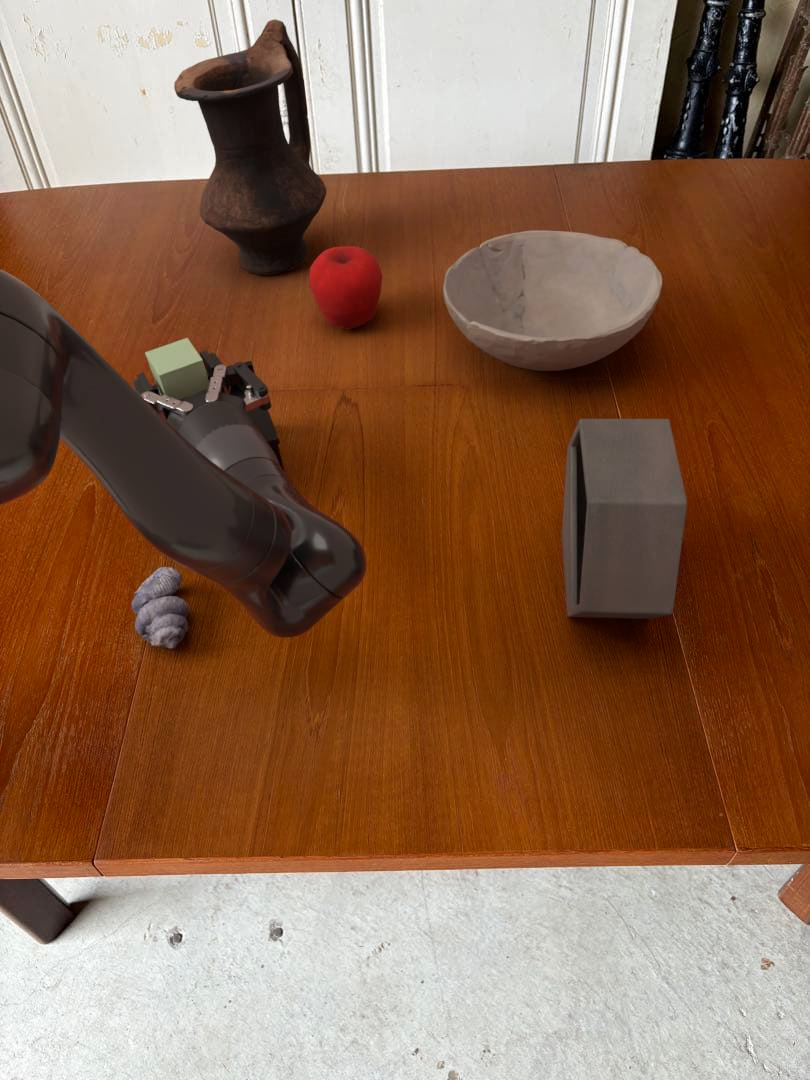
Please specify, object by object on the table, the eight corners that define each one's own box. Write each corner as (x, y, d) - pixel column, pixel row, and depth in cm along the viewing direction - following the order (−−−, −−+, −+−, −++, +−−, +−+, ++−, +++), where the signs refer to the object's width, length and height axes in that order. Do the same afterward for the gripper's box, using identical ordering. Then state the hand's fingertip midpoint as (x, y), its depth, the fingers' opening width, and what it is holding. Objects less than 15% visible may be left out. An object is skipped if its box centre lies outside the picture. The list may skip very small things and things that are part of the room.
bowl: (410, 327, 112) (405, 261, 104) (570, 271, 119) (577, 205, 111) (513, 437, 96) (516, 367, 88) (691, 364, 103) (708, 294, 95)
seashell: (156, 594, 85) (179, 669, 79) (112, 581, 81) (133, 659, 75) (187, 561, 83) (213, 635, 77) (144, 546, 79) (168, 623, 73)
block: (183, 443, 87) (158, 375, 80) (169, 420, 90) (144, 352, 83) (223, 428, 88) (202, 359, 81) (208, 405, 91) (187, 337, 84)
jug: (285, 304, 117) (242, 79, 95) (190, 274, 125) (128, 58, 102) (365, 237, 129) (344, 22, 106) (274, 213, 136) (235, 7, 113)
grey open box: (561, 459, 86) (587, 399, 66) (636, 459, 85) (685, 398, 65) (561, 619, 84) (588, 609, 63) (637, 621, 83) (689, 611, 63)
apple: (337, 351, 109) (327, 278, 101) (303, 319, 115) (291, 247, 107) (399, 324, 112) (393, 252, 104) (363, 294, 118) (355, 223, 110)
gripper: (294, 401, 75) (228, 316, 85) (144, 459, 71) (94, 363, 81) (306, 460, 81) (243, 374, 91) (168, 517, 77) (118, 420, 87)
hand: (173, 369), depth 86 cm, fingers open, 6 cm apart
